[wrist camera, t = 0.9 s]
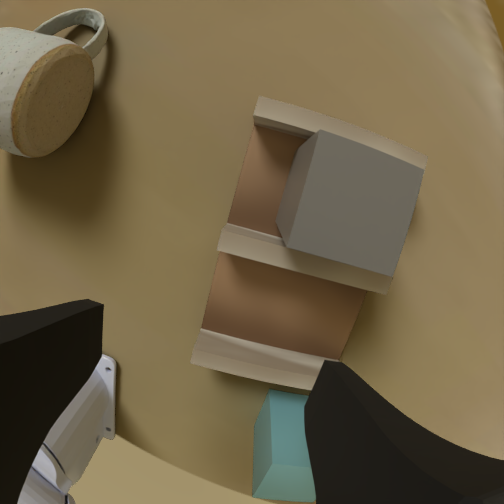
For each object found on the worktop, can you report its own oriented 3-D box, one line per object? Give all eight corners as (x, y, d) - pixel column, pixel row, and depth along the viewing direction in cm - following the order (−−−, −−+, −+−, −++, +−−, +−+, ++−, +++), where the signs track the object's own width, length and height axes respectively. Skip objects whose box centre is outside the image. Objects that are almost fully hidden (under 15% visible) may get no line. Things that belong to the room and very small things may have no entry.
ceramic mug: (72, 167, 17) (-10, 163, 10) (3, 135, 17) (-69, 128, 9) (142, 24, 15) (94, -37, 8) (62, 13, 15) (7, -28, 7)
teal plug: (303, 433, 21) (313, 502, 14) (254, 425, 21) (252, 497, 14) (321, 397, 20) (340, 469, 14) (269, 388, 20) (272, 463, 13)
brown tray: (330, 366, 20) (341, 394, 17) (200, 336, 19) (190, 363, 16) (401, 159, 17) (428, 156, 13) (258, 111, 16) (258, 95, 13)
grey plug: (343, 240, 17) (392, 277, 10) (275, 221, 17) (286, 247, 10) (362, 173, 16) (424, 169, 9) (295, 150, 16) (319, 128, 9)
